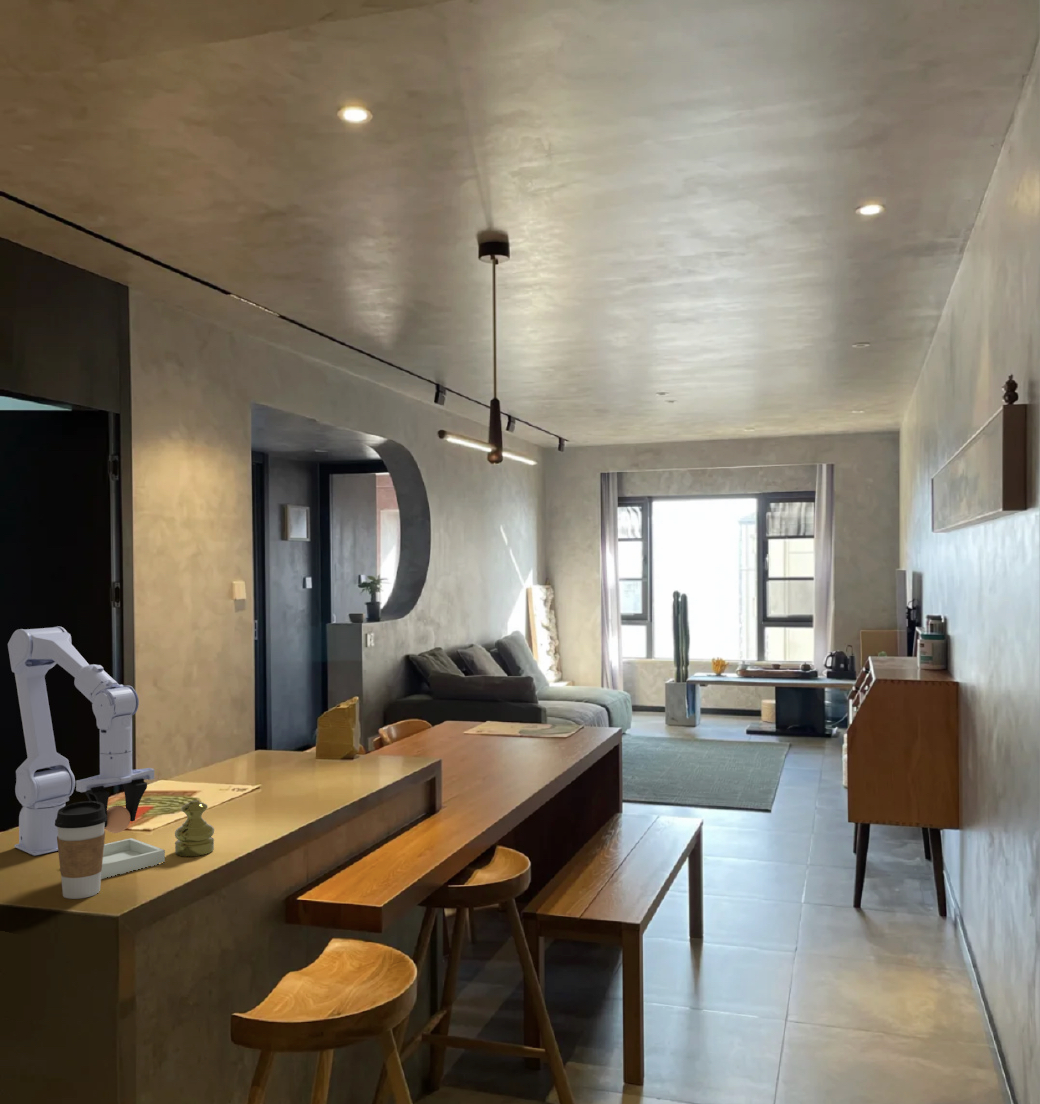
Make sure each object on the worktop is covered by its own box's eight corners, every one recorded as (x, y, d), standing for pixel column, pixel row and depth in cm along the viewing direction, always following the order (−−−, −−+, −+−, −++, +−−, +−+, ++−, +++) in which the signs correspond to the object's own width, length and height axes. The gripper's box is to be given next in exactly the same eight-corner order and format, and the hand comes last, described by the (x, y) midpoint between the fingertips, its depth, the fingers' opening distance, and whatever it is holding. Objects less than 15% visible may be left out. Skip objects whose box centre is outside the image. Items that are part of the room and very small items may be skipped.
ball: (98, 833, 192) (96, 807, 191) (124, 826, 195) (122, 800, 195) (110, 838, 188) (108, 811, 188) (135, 831, 192) (134, 805, 192)
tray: (68, 865, 191) (68, 852, 191) (131, 850, 200) (131, 838, 200) (100, 879, 183) (100, 865, 183) (164, 863, 192) (164, 849, 192)
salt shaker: (172, 858, 195) (172, 806, 195) (177, 847, 202) (177, 797, 202) (212, 856, 196) (211, 804, 197) (216, 845, 204) (215, 795, 204)
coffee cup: (115, 884, 180) (114, 800, 180) (96, 901, 171) (96, 812, 171) (67, 885, 179) (66, 801, 179) (46, 902, 171) (45, 813, 171)
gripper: (88, 760, 183) (89, 835, 183) (162, 748, 194) (162, 819, 194) (70, 755, 188) (71, 828, 188) (143, 744, 199) (144, 813, 199)
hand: (116, 823), depth 192 cm, fingers closed on ball, 5 cm apart
